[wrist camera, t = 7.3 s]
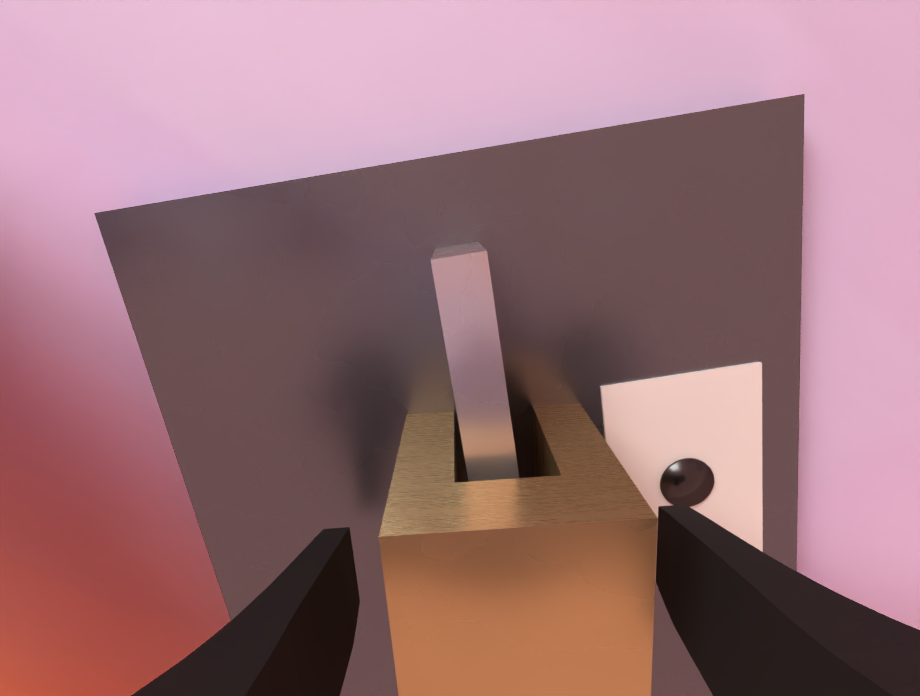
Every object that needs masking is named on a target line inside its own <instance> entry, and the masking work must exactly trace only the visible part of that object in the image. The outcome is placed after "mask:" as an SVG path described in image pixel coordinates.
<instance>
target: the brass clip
mask: <svg viewBox="0 0 920 696" xmlns="http://www.w3.org/2000/svg"><path fill="white" fill-rule="evenodd" d="M532 408H533V439H534V470H535V477H530V478H515V479H500V480H486V481H471V482H459V474H458V461H457V448H456V434H455V421H454V412H439V413H424V414H410V415H406V420H405V424H404V428H403V433H402V437H401V441H400V446H399V450H398V455H397V459H396V463H395V468H394V472H393V477H392V481H391V485H390V490H389V494H388V498H387V503H386V507H385V512H384V516H383V520H382V525H381V529H380V533H379V543H380V551H381V559H382V567H383V575H384V583H385V591H386V599H387V607H388V615H389V623H390V631H391V639H392V647H393V655H394V663H395V671H396V679H397V687H398V695H399V696H651V678H652V652H653V626H654V601H655V575H656V550H657V524H658V518H657V516H656V515H655V513H654V512H653V510H652V509H651V507H650V506H649V504H648V503H647V501H646V500H645V499H644V497H643V496H642V494H641V493H640V491H639V490H638V488H637V487H636V485H635V484H634V482H633V481H632V479H631V478H630V476H629V475H628V473H627V472H626V470H625V469H624V468H623V466H622V465H621V463H620V462H619V460H618V459H617V457H616V456H615V454H614V453H613V451H612V450H611V448H610V447H609V445H608V444H607V442H606V441H605V440H604V438H603V437H602V435H601V434H600V432H599V431H598V429H597V428H596V426H595V425H594V423H593V422H592V420H591V419H590V417H589V416H588V414H587V413H586V411H585V410H584V409H583V407H582V406H581V404H580V403H570V404H556V405H541V406H532Z"/></svg>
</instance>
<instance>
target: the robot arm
mask: <svg viewBox="0 0 920 696" xmlns="http://www.w3.org/2000/svg"><path fill="white" fill-rule="evenodd" d="M656 584H657V586H658V589H659V591H660V594H661V596H662V599H663V601H664V604H665V606H666V609H667V611H668V613H669V616H670V618H671V620H672V623H673V625H674V627H675V629H676V630H677V632H678V634H679V636H680V638H681V640H682V641H683V643H684V645H685V647H686V649H687V650H688V652H689V654H690V656H691V658H692V659H693V661H694V663H695V665H696V666H697V668H698V670H699V672H700V674H701V675H702V677H703V679H704V681H705V682H706V684H707V686H708V688H709V690H710V691H711V693H712V695H713V696H920V630H918V629H916V628H913V627H911V626H908V625H906V624H903V623H901V622H899V621H896V620H894V619H892V618H889V617H887V616H885V615H883V614H880V613H878V612H876V611H874V610H872V609H870V608H867V607H865V606H863V605H861V604H859V603H857V602H855V601H853V600H851V599H848V598H846V597H844V596H842V595H840V594H838V593H836V592H834V591H832V590H830V589H828V588H826V587H824V586H822V585H820V584H819V583H817V582H815V581H813V580H811V579H809V578H808V577H806V576H804V575H802V574H800V573H798V572H797V571H795V570H793V569H791V568H789V567H788V566H786V565H784V564H782V563H781V562H779V561H777V560H775V559H774V558H772V557H770V556H769V555H767V554H765V553H764V552H762V551H760V550H759V549H757V548H755V547H754V546H752V545H750V544H749V543H747V542H746V541H744V540H742V539H741V538H739V537H737V536H736V535H734V534H733V533H731V532H729V531H728V530H726V529H725V528H723V527H721V526H720V525H718V524H717V523H715V522H714V521H712V520H710V519H709V518H707V517H705V516H704V515H702V514H701V513H699V512H697V511H695V510H694V509H692V508H690V507H688V506H687V505H671V506H658V530H657V555H656ZM359 605H360V597H359V590H358V583H357V576H356V569H355V562H354V555H353V548H352V541H351V533H350V527H344V528H330V529H323V530H322V531H321V532H320V533H319V534H318V535H317V536H316V537H315V538H314V539H313V540H312V541H311V542H310V544H309V545H308V546H307V547H306V548H305V549H304V550H303V551H302V552H301V553H300V554H299V555H298V556H297V557H296V558H295V559H294V560H293V561H292V563H291V564H290V565H289V566H288V567H287V568H286V569H285V570H284V571H283V572H282V573H281V574H280V575H279V576H278V577H277V578H276V579H275V580H274V581H273V582H272V583H271V584H270V585H269V586H268V587H267V588H266V589H265V590H264V591H263V592H262V593H261V594H260V595H258V596H257V597H256V598H255V599H254V600H253V601H252V602H251V603H250V604H249V605H248V606H247V607H246V608H244V609H243V610H242V611H241V612H240V613H239V614H238V615H237V616H236V617H235V618H234V619H233V620H231V621H230V622H229V623H228V624H227V625H226V626H224V627H223V628H222V629H221V630H220V631H219V632H217V633H216V634H215V635H214V636H213V637H211V638H210V639H209V640H207V641H206V642H205V643H204V644H202V645H201V646H200V647H199V648H197V649H196V650H195V651H194V652H192V653H191V654H190V655H188V656H187V657H186V658H184V659H183V660H182V661H180V662H179V663H178V664H176V665H175V666H173V667H172V668H170V669H169V670H167V671H166V672H165V673H163V674H162V675H160V676H159V677H157V678H156V679H155V680H153V681H152V682H150V683H149V684H147V685H146V686H145V687H143V688H142V689H140V690H139V691H137V692H136V693H135V694H133V695H131V696H340V693H341V690H342V686H343V682H344V679H345V675H346V671H347V667H348V664H349V660H350V656H351V652H352V649H353V644H354V638H355V632H356V626H357V619H358V612H359Z"/></svg>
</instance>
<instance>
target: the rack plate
mask: <svg viewBox="0 0 920 696" xmlns="http://www.w3.org/2000/svg"><path fill="white" fill-rule="evenodd" d="M803 146H804V94H802V95H796V96H790V97H784V98H778V99H772V100H766V101H760V102H755V103H749V104H743V105H737V106H731V107H725V108H719V109H713V110H707V111H701V112H695V113H689V114H683V115H677V116H671V117H665V118H659V119H653V120H647V121H641V122H635V123H629V124H623V125H617V126H612V127H606V128H600V129H594V130H588V131H582V132H576V133H570V134H564V135H558V136H552V137H546V138H540V139H534V140H528V141H522V142H516V143H510V144H504V145H498V146H492V147H486V148H480V149H475V150H469V151H463V152H457V153H451V154H445V155H439V156H433V157H427V158H421V159H415V160H409V161H403V162H397V163H391V164H385V165H379V166H373V167H367V168H361V169H355V170H349V171H343V172H337V173H332V174H326V175H320V176H314V177H308V178H302V179H296V180H290V181H284V182H278V183H272V184H266V185H260V186H254V187H248V188H242V189H236V190H230V191H224V192H218V193H212V194H206V195H200V196H194V197H189V198H183V199H177V200H171V201H165V202H159V203H153V204H147V205H141V206H135V207H129V208H123V209H117V210H111V211H105V212H99V213H95V216H96V219H97V222H98V225H99V228H100V231H101V234H102V237H103V240H104V243H105V246H106V249H107V252H108V255H109V258H110V261H111V264H112V267H113V270H114V273H115V276H116V279H117V282H118V285H119V288H120V291H121V294H122V297H123V300H124V303H125V306H126V309H127V312H128V315H129V318H130V321H131V324H132V327H133V330H134V332H135V335H136V338H137V341H138V344H139V347H140V350H141V353H142V356H143V359H144V362H145V365H146V368H147V371H148V374H149V377H150V380H151V383H152V386H153V389H154V392H155V395H156V398H157V401H158V404H159V407H160V410H161V413H162V416H163V419H164V422H165V425H166V428H167V431H168V434H169V437H170V440H171V443H172V446H173V449H174V452H175V455H176V458H177V461H178V464H179V467H180V470H181V473H182V475H183V478H184V481H185V484H186V487H187V490H188V493H189V496H190V499H191V502H192V505H193V508H194V511H195V514H196V517H197V520H198V523H199V526H200V529H201V532H202V535H203V538H204V541H205V544H206V547H207V550H208V553H209V556H210V559H211V562H212V565H213V568H214V571H215V574H216V577H217V580H218V583H219V586H220V589H221V592H222V595H223V598H224V601H225V604H226V607H227V610H228V613H229V615H230V618H231V620H233V619H234V618H235V617H236V616H237V615H238V614H239V613H240V612H241V611H242V610H243V609H244V608H246V607H247V606H248V605H249V604H250V603H251V602H252V601H253V600H254V599H255V598H256V597H257V596H258V595H260V594H261V593H262V592H263V591H264V590H265V589H266V588H267V587H268V586H269V585H270V584H271V583H272V582H273V581H274V580H275V579H276V578H277V577H278V576H279V575H280V574H281V573H282V572H283V571H284V570H285V569H286V568H287V567H288V566H289V565H290V564H291V563H292V561H293V560H294V559H295V558H296V557H297V556H298V555H299V554H300V553H301V552H302V551H303V550H304V549H305V548H306V547H307V546H308V545H309V544H310V542H311V541H312V540H313V539H314V538H315V537H316V536H317V535H318V534H319V533H320V532H321V531H322V530H323V529H330V528H344V527H350V533H351V541H352V548H353V555H354V562H355V569H356V576H357V583H358V590H359V597H360V605H359V612H358V619H357V626H356V632H355V638H354V644H353V649H352V652H351V656H350V660H349V664H348V667H347V671H346V675H345V679H344V682H343V686H342V690H341V693H340V696H399V695H398V687H397V679H396V671H395V663H394V655H393V647H392V639H391V631H390V623H389V615H388V607H387V599H386V591H385V583H384V575H383V567H382V559H381V551H380V543H379V533H380V529H381V525H382V520H383V516H384V512H385V507H386V503H387V498H388V494H389V490H390V485H391V481H392V477H393V472H394V468H395V463H396V459H397V455H398V450H399V446H400V441H401V437H402V433H403V428H404V424H405V420H406V415H410V414H424V413H439V412H454V421H455V434H456V448H457V461H458V474H459V482H471V481H486V480H500V479H515V478H530V477H535V470H534V439H533V408H532V406H541V405H556V404H570V403H580V404H581V406H582V407H583V409H584V410H585V411H586V413H587V414H588V416H589V417H590V419H591V420H592V422H593V423H594V425H595V426H596V428H597V429H598V431H599V432H600V434H601V435H602V437H603V438H604V440H605V441H606V442H607V444H608V445H609V447H610V448H611V450H612V451H613V453H614V454H615V456H616V457H617V459H618V460H619V462H620V463H621V465H622V466H623V468H624V469H625V470H626V472H627V473H628V475H629V476H630V478H631V479H632V481H633V482H634V484H635V485H636V487H637V488H638V490H639V491H640V493H641V494H642V496H643V497H644V499H645V500H646V501H647V503H648V504H649V506H650V507H651V509H652V510H653V512H654V513H655V515H656V516H657V518H658V506H671V505H687V506H688V507H690V508H692V509H694V510H695V511H697V512H699V513H701V514H702V515H704V516H705V517H707V518H709V519H710V520H712V521H714V522H715V523H717V524H718V525H720V526H721V527H723V528H725V529H726V530H728V531H729V532H731V533H733V534H734V535H736V536H737V537H739V538H741V539H742V540H744V541H746V542H747V543H749V544H750V545H752V546H754V547H755V548H757V549H759V550H760V551H762V552H764V553H765V554H767V555H769V556H770V557H772V558H774V559H775V560H777V561H779V562H781V563H782V564H784V565H786V566H788V567H789V568H791V569H793V570H795V571H796V557H797V498H798V440H799V381H800V322H801V263H802V205H803ZM657 530H658V524H657ZM656 555H657V550H656ZM651 696H713V695H712V693H711V691H710V690H709V688H708V686H707V684H706V682H705V681H704V679H703V677H702V675H701V674H700V672H699V670H698V668H697V666H696V665H695V663H694V661H693V659H692V658H691V656H690V654H689V652H688V650H687V649H686V647H685V645H684V643H683V641H682V640H681V638H680V636H679V634H678V632H677V630H676V629H675V627H674V625H673V623H672V620H671V618H670V616H669V613H668V611H667V609H666V606H665V604H664V601H663V599H662V596H661V594H660V591H659V589H658V586H657V584H656V575H655V601H654V626H653V652H652V678H651Z"/></svg>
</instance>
